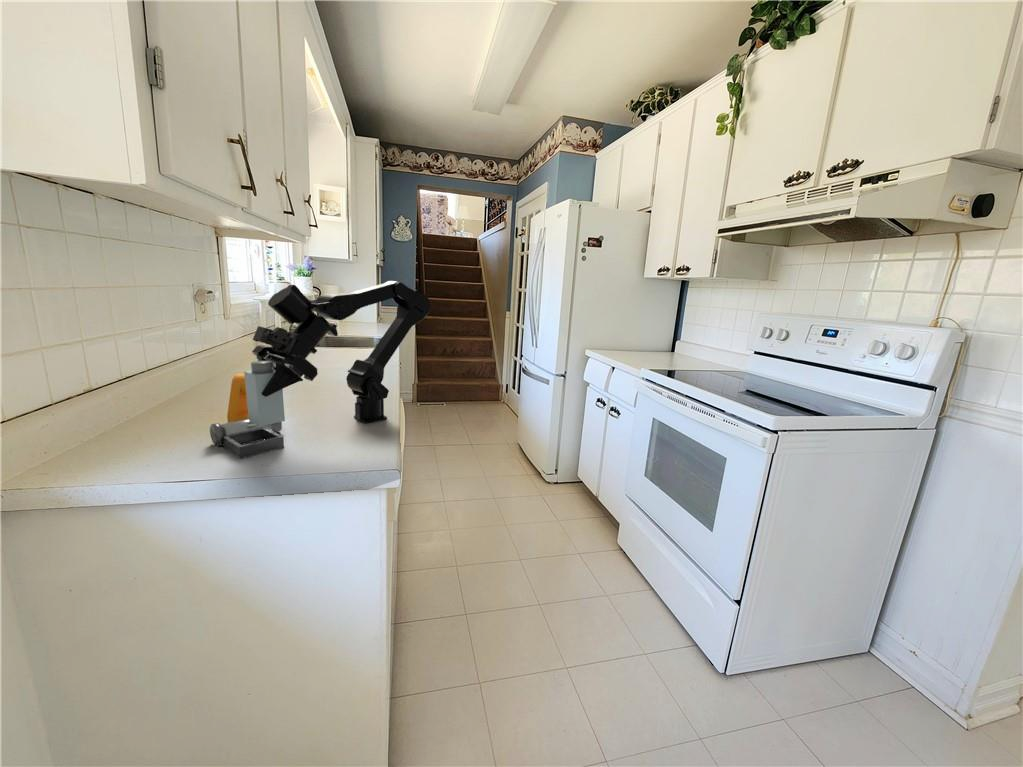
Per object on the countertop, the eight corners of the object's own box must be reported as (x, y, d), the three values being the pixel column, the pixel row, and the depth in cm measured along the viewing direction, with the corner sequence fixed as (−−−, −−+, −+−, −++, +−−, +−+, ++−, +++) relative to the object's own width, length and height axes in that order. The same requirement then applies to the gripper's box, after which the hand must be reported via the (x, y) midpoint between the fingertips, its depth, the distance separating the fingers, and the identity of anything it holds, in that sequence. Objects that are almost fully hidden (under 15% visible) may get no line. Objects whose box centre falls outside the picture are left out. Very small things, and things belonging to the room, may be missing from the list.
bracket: (258, 428, 102) (254, 380, 100) (228, 426, 102) (223, 378, 100) (281, 414, 113) (277, 371, 110) (253, 413, 113) (249, 369, 110)
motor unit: (273, 428, 102) (271, 409, 101) (300, 443, 95) (299, 422, 94) (211, 442, 92) (208, 421, 91) (236, 459, 84) (234, 437, 83)
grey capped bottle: (273, 415, 95) (269, 359, 92) (284, 421, 92) (280, 363, 90) (248, 420, 91) (243, 362, 88) (259, 426, 88) (254, 365, 85)
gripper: (258, 309, 95) (206, 362, 89) (299, 316, 84) (244, 378, 78) (295, 341, 103) (250, 392, 97) (337, 351, 92) (290, 410, 86)
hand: (257, 392), depth 89 cm, fingers closed on grey capped bottle, 5 cm apart
